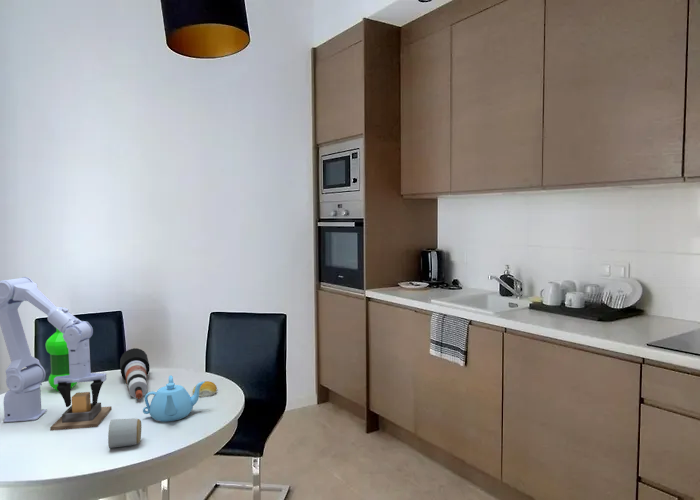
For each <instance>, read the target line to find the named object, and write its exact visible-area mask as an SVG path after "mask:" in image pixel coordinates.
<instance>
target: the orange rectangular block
mask: <svg viewBox="0 0 700 500" xmlns="http://www.w3.org/2000/svg"><path fill="white" fill-rule="evenodd" d="M91 403H92V401H91V391H82V392H75V393H74V394H73V395H72V396H71V405H72V413H77V412H90V411H91Z"/></svg>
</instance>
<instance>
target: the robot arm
mask: <svg viewBox="0 0 700 500" xmlns="http://www.w3.org/2000/svg"><path fill="white" fill-rule="evenodd" d="M24 301H25V302H29V303H30V304H31V305H32V306H34V307H35V308H36V309H38V310H39V311H41V312H42V313H44V314H45V315H47V321H48V322H49V323H50V324H51V325H52V326H53V327H54V326H55V327H56V328H57V329H58V330H59V331H61V332H62V333H63V338H64V340H65V342H66V343H67V348H68V350H69V370H70V375H65V376H57V377H55V378H54V385H55V384H58V386H57V390H58V391H57V390H56V391H57V392H58V393H59V394H60V395H61V397H62V399H63V401H64V404H65V407H66V408H69V407H70V406H71V405H72V396H71V393H72V392H71V390H72V389H71V383H75V382H77V383H85V382H86V383H88V382H89V383H90V382H92V383H90V386H89V387H90V389H91V394H92V396H91V397H92V401H91V403H93V405H96V404H97V403H98V401H99V400H98V399H99V395H100V392H101V389H102V386H103V384H104V382H105V381H107V373H96V372H95V373H94V372H91V354H90V353H91V352H90V351H91V350H90V339H91V337H92V336H93V334H94V329H93V327H92V325H91V324H90V322H89V321H87V320H86V321H84V320H80V319H79V318H78V317H76V316H75V315H74V314H72V313H71V312H69V309H68V308H67V307H63V306H59V307H58V306H56V305H55V304H54V302H52V301H51V300H50V298H48V297H47V296H46V295H45V294H44V293H43V292H42V291H41V290H40V289H39V288H38V283H37V282H34V281H33V280H32V278H30V277H28V276H22V277H18V278H12V279H3V280H0V330H1V332H2V337H3V339H4V343H5V346H6V349H7V354H8V355H9V359H10V363H9V365H8V367H7V368H6V369H5V375H6V380H5V383H6V387H7V388H8V390H7V391H6V392H5V394H4V396H3V413H4V419H3V423H13V422H24V421H25V422H26V421H37V420H38V419H40V418H41V416H43V415H44V414H45V413H46V412H47V411H48V409H46V408H45V409H44V408H43V409H42V393H41V391H42V390H41V386H42V385H43V381H44V380H45V379H46V375H47V374H46V370H45V368H44V367H43V366H42V364H41V362H40V360H39V359H38V358H36V357H34V356H32V353H31V350H30V348H29V344H28V340H27V337H26V333H25V330H24V327H23V323H22V321H21V318H20V313H19V310H18V309H19V308H20V306H21V304H22V303H23V302H24ZM55 327H54V328H55ZM56 328H55V329H56Z"/></svg>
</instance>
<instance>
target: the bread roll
mask: <svg viewBox="0 0 700 500" xmlns="http://www.w3.org/2000/svg"><path fill="white" fill-rule="evenodd" d="M204 381H205V380H204ZM195 387H196V385H195V386H193V389H192V396H193V395H194V393H195ZM217 388H218V387H217V385H216V384H215V383H214V382H213V381H210V380H209V381H207V380H206V381H205V382H204V383H203V384H202V385H201V387H200V390H199V398H206V397H207V398H208V397H212V396H214V395H215V394H216V393H217Z"/></svg>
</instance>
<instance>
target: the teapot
mask: <svg viewBox="0 0 700 500" xmlns="http://www.w3.org/2000/svg"><path fill="white" fill-rule="evenodd" d="M204 382H205V380H204V381H200V382H198V383H197V384H196V385H195V386H196V387H195V386H194V387H195V393H194V395H193V394H192V396H191V395H190V393H189V392H188V391H187V390H186V388H185V387H184V386H182V385H181V384H176V383H175V382H174V376H172V375H168V383H166V384H165V385H164V386H161V387H160V388H159V389H157V390H156V391H153V390H152V391H148V392H147V393H146V394H145V395H144V403H145V406H144V407H143V409H142V413H143V414H144V415H149V416H151V417H152V418H153V420H155V421H158V422H162V423H163V422H164V423H165V422H166V423H167V422H175V421H179V420H182V419H184V418H186V417H188V416H189V415H190V414H191V412H192V411H193V408H194V406H195V405H196V404H197V403H198V401H199V398H200V397H199V390H200V387H201V385H202V384H203V383H204ZM150 395H151V396H152V395H153V397H152V400H151V401H150V403H149V400H148V396H150Z"/></svg>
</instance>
